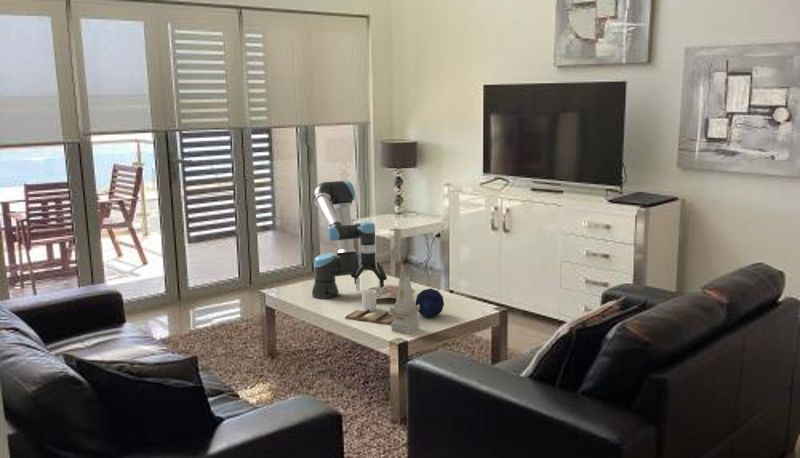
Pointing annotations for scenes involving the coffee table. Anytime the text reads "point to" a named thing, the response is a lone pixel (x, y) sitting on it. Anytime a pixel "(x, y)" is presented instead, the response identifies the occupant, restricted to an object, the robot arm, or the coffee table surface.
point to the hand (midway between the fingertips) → (369, 291)
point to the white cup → (369, 299)
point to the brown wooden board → (371, 317)
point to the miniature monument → (405, 307)
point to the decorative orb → (430, 302)
